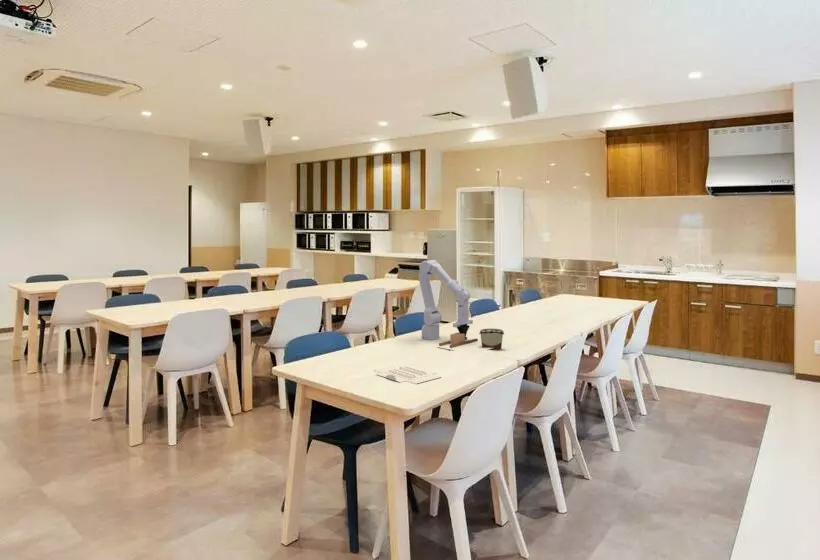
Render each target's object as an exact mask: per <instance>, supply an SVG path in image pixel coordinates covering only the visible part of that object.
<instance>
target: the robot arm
mask: <svg viewBox="0 0 820 560" xmlns="http://www.w3.org/2000/svg"><path fill="white" fill-rule="evenodd" d="M418 268H419V271H418V281H419V285H420V290H421V294H422V298H423V303H424V307H425V309H424V311H423V323H424V324H423V325H422V327H421V341H424V340H429V341H439V340H440V322H441V321H442V315H441V313H440V312H439V311H440V310H439V308H438V307H436V303H435V300H434V296H433V289H432V286H431V282H430V280H431V279H430V278H431V276H432V275H433V274H434V275H437V276H438V277H439V278H440V279H441V280H442V281H444V283H446V287H447V289H448V290H449V291H450V292H451V293H452V294H453V295H454V296H455V297H454V298H455V300H456V304H457V321H455V322H453V323H452V328H456V329H457V331H458V333H463V334H465V338H466V337H467V334H468V331H469V329H470V325H472V324H473V322H474V320H473V319H469V300H470V299H471V293H470V291H469V290H467V289H465V288H464V287H463V286H461V285H460V284H459V280H456V279H453V278H451V277H450V276H449V275H448V273H447V271H445V270H444V268H443V267H442V265H441V264H440V263H439V262H438V261H437V260H436V259H430V260H423V261H421V263H420V264H419V266H418Z"/></svg>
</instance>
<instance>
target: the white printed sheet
mask: <svg viewBox="0 0 820 560" xmlns="http://www.w3.org/2000/svg"><path fill="white" fill-rule="evenodd" d="M376 371H377V372H376ZM373 372H376V374H377V375H376V376H380V377H383V378H386V379H389V380H393V381H395V382H398V383H400V384H401V383H405V382H407V383H410V384H414V385H417V384H420V383H424V382H428V381H433V380H435V379H439V378H440V379H441V378H442V377H441V376H439V375H436V374H438V373H437V372H435V371H432V370H429V369H425V368H422V367H417V366H414V365H411V366H410V365H409V366H404V365H401V364H396V365H390V366H386V367H382V368H378V369H373ZM379 372H380V373H379Z"/></svg>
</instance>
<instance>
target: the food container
mask: <svg viewBox="0 0 820 560" xmlns="http://www.w3.org/2000/svg"><path fill="white" fill-rule="evenodd" d="M478 334H479V335H480V341H481V349H482V348H484V349H485V348H490V349H488V351H502V346H503V345H502V344H503V337H504V336H503V335H505V333H504V330H502V329H500V328H482V329H480V330H479V333H478Z"/></svg>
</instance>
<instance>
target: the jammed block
mask: <svg viewBox="0 0 820 560" xmlns="http://www.w3.org/2000/svg"><path fill="white" fill-rule="evenodd" d="M449 336H450V337H449V338H450V340H449V341H450V344H449V345H453V344H456V343H460V342H464V341H466V340H465V334H463V333H459V332H454V333H450V334H449Z"/></svg>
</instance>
